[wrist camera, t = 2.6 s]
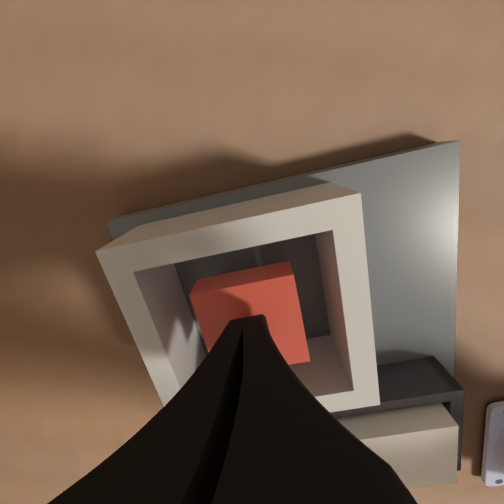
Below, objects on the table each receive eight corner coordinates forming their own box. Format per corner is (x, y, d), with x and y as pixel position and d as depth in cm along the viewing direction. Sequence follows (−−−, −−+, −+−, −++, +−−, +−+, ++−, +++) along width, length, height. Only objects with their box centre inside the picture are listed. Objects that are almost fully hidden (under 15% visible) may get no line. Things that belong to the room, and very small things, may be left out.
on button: (438, 399, 14) (458, 425, 12) (438, 453, 15) (456, 482, 14) (319, 417, 14) (326, 444, 13) (329, 468, 15) (336, 497, 14)
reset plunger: (289, 260, 11) (293, 274, 10) (304, 339, 12) (310, 361, 11) (196, 279, 12) (189, 295, 10) (221, 354, 13) (216, 377, 12)
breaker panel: (437, 142, 13) (551, 133, 8) (437, 418, 19) (502, 511, 14) (120, 215, 14) (48, 247, 9) (212, 450, 20) (198, 546, 15)
